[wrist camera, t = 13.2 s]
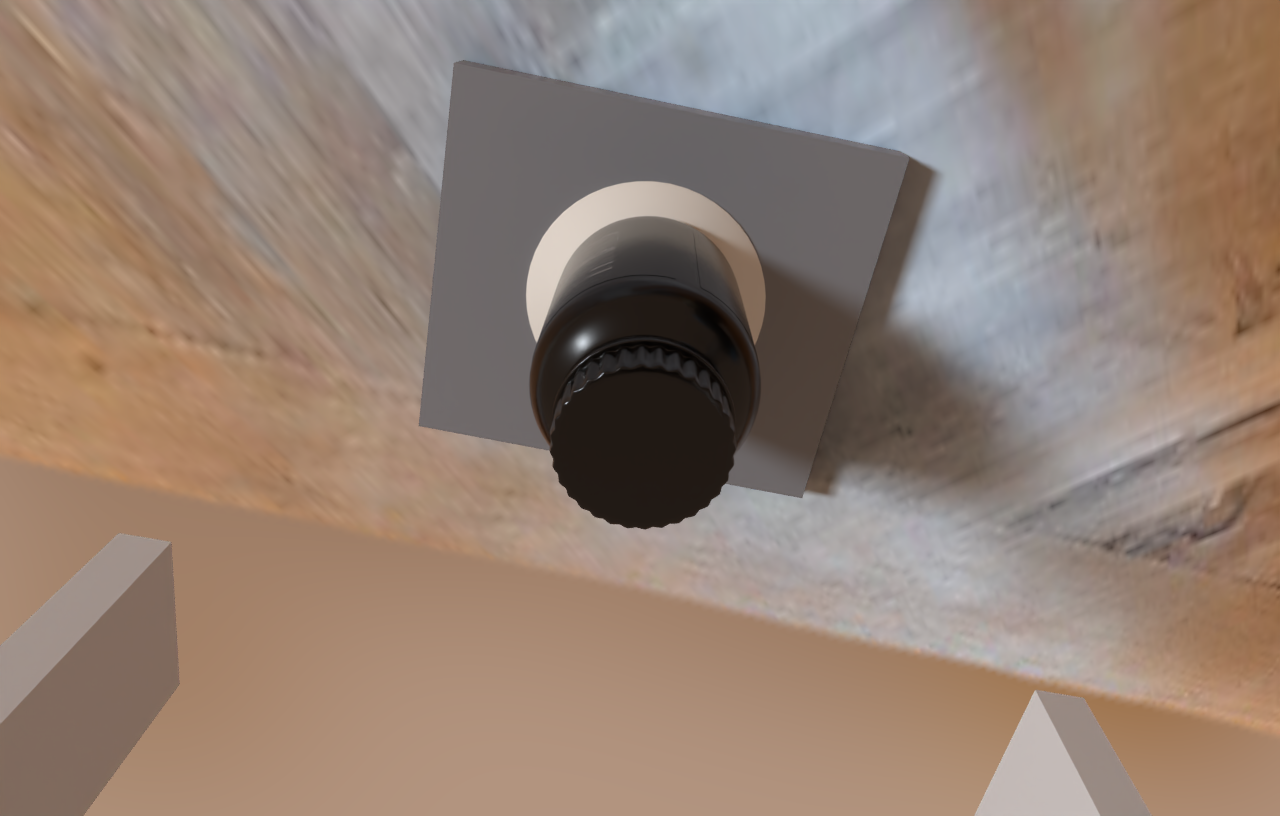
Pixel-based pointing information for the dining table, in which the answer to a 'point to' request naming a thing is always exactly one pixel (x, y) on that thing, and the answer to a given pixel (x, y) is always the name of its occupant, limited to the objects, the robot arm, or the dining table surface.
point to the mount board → (646, 186)
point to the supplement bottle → (645, 373)
